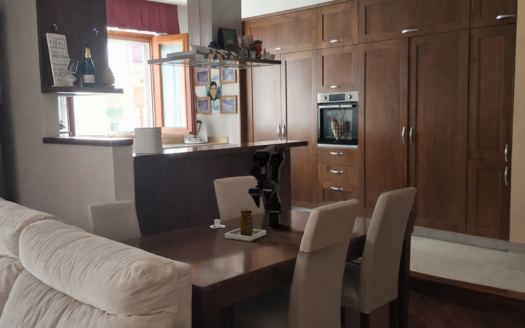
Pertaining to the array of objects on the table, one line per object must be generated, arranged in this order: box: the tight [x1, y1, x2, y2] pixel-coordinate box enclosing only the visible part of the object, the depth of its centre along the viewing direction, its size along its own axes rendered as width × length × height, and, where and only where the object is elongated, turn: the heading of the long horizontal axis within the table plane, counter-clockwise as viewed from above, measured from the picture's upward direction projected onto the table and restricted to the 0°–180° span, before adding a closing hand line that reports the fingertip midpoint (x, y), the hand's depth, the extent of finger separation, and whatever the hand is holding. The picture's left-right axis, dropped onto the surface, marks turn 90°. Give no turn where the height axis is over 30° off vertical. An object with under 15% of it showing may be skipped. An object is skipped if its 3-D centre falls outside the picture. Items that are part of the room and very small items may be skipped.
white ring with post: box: [209, 218, 226, 229], centre depth 269 cm, size 9×8×4 cm
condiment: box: [238, 208, 254, 236], centre depth 246 cm, size 7×8×12 cm
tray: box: [224, 227, 267, 242], centre depth 246 cm, size 14×14×2 cm
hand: (263, 206), depth 254 cm, fingers open, 9 cm apart
